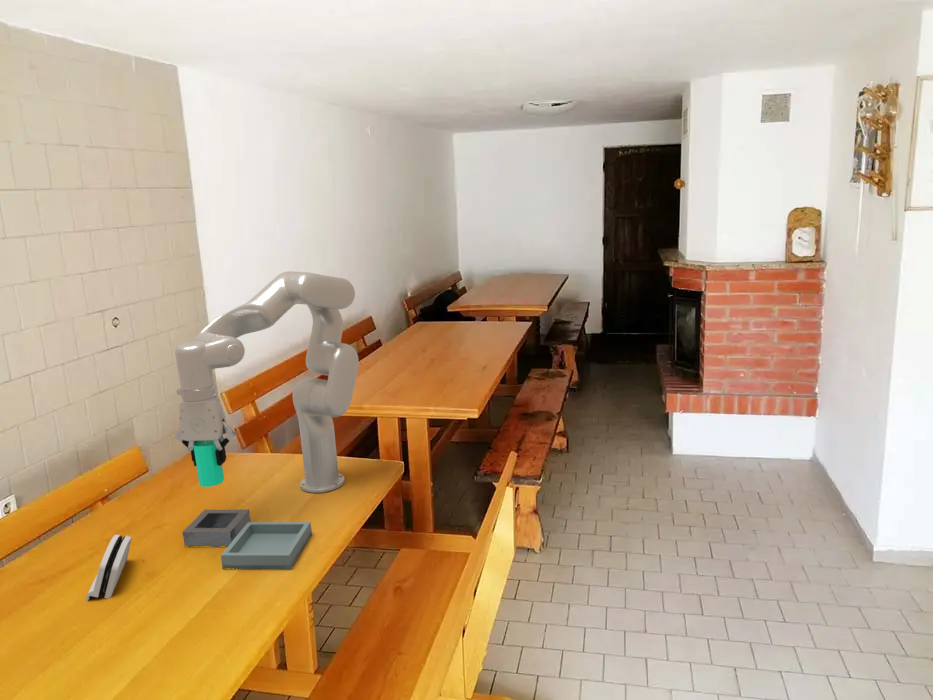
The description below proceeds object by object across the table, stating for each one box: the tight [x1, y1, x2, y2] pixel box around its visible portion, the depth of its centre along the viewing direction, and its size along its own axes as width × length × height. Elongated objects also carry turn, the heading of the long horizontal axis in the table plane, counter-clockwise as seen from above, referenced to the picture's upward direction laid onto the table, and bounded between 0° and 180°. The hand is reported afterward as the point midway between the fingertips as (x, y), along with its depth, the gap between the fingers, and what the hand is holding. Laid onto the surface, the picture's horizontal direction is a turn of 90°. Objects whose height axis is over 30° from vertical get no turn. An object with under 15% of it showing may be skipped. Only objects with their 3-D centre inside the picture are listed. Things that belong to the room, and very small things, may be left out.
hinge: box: [85, 534, 133, 602], centre depth 160 cm, size 17×5×10 cm, turn 14°
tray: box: [220, 521, 313, 570], centre depth 169 cm, size 16×16×4 cm
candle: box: [193, 441, 225, 488], centre depth 175 cm, size 6×6×12 cm
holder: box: [182, 508, 252, 548], centre depth 179 cm, size 12×12×4 cm
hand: (209, 463), depth 175 cm, fingers closed on candle, 5 cm apart
